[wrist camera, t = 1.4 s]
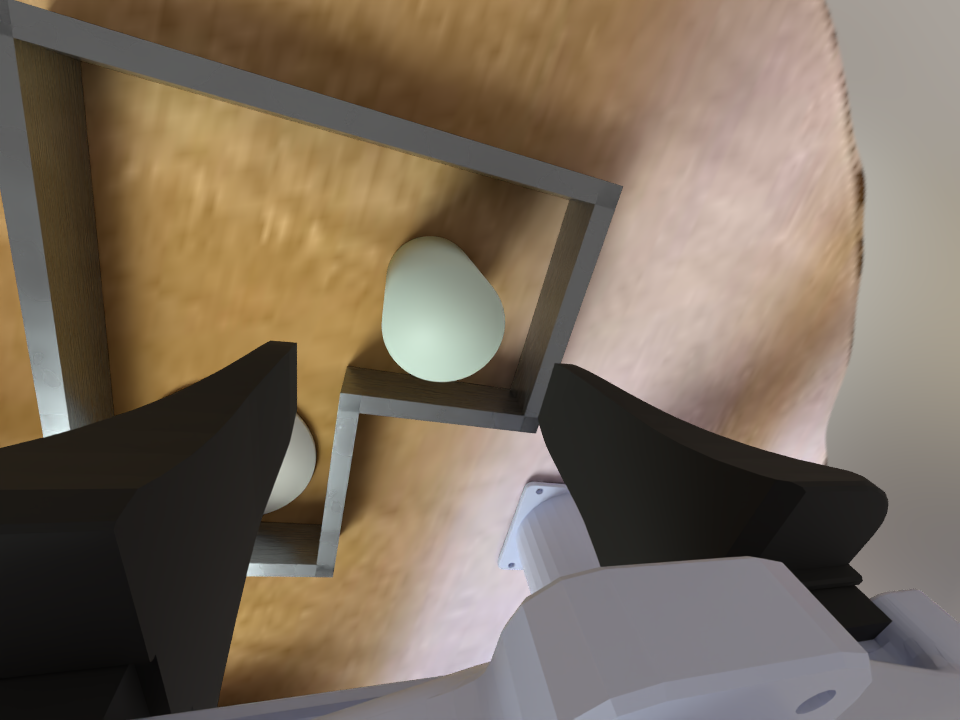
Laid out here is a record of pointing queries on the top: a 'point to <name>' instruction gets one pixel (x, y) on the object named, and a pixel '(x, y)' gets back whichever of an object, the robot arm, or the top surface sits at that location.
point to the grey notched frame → (63, 135)
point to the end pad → (294, 467)
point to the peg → (439, 311)
